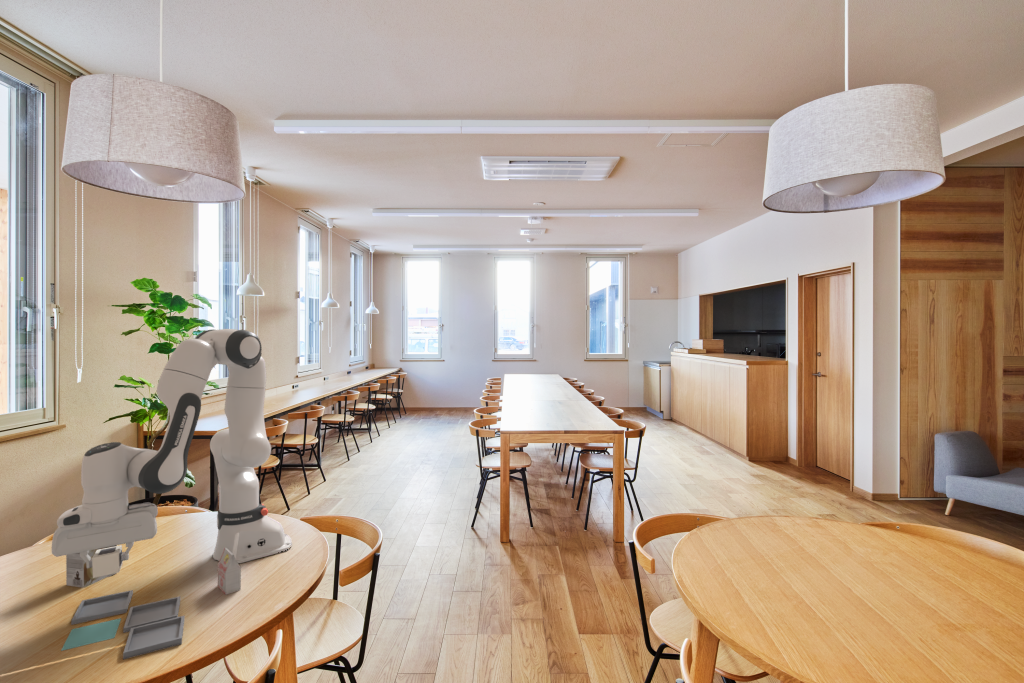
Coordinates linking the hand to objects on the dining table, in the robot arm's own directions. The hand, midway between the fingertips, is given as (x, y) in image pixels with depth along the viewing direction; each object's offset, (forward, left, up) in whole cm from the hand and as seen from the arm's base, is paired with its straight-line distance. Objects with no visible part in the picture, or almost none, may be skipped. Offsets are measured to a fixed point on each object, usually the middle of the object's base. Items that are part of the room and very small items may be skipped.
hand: (108, 563), depth 121 cm
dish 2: (-10, +10, -11) cm, 19 cm away
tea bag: (-26, +3, -12) cm, 29 cm away
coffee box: (+7, -21, -12) cm, 25 cm away
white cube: (0, 0, -2) cm, 2 cm away
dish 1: (+1, 0, -11) cm, 11 cm away
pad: (+1, +12, -11) cm, 17 cm away
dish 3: (-12, +21, -11) cm, 27 cm away
